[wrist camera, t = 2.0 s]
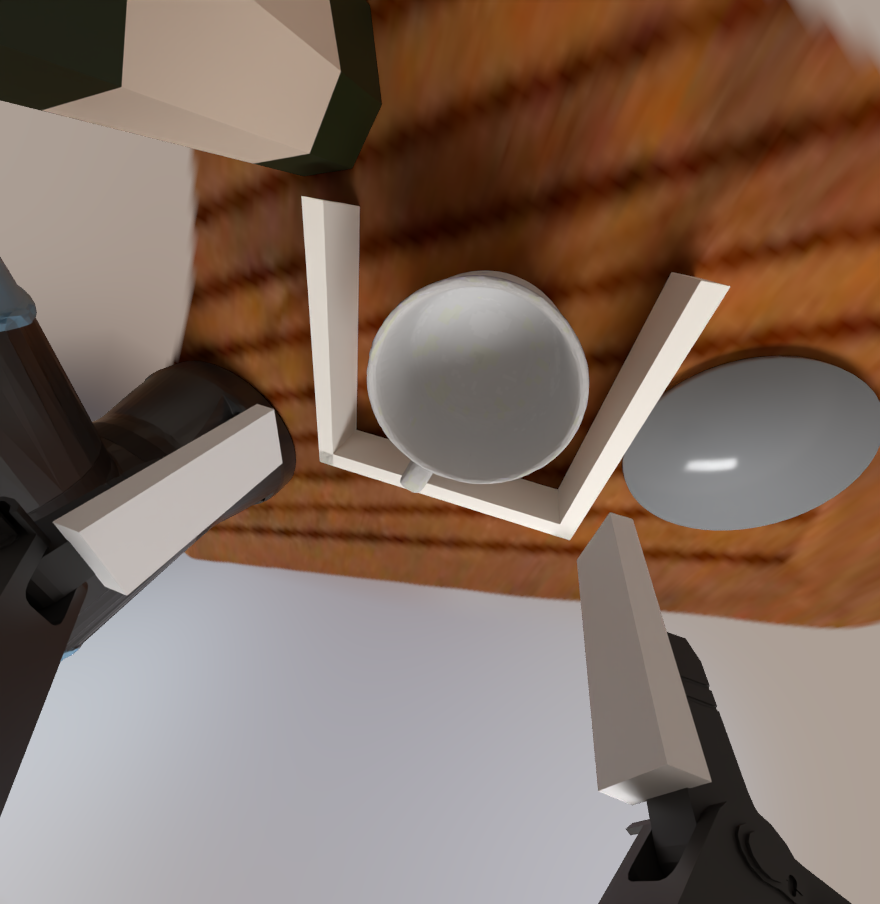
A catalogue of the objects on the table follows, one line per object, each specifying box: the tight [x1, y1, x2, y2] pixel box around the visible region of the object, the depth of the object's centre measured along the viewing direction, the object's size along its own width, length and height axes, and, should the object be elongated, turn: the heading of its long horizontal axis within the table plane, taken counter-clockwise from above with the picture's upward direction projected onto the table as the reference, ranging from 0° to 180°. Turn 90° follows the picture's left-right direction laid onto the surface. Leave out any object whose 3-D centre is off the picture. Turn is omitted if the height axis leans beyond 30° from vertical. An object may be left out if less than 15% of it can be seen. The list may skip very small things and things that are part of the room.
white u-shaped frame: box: [301, 196, 730, 540], centre depth 22 cm, size 20×17×4 cm
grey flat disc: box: [622, 356, 880, 530], centre depth 21 cm, size 13×13×1 cm
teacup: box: [367, 270, 589, 493], centre depth 20 cm, size 14×11×8 cm
